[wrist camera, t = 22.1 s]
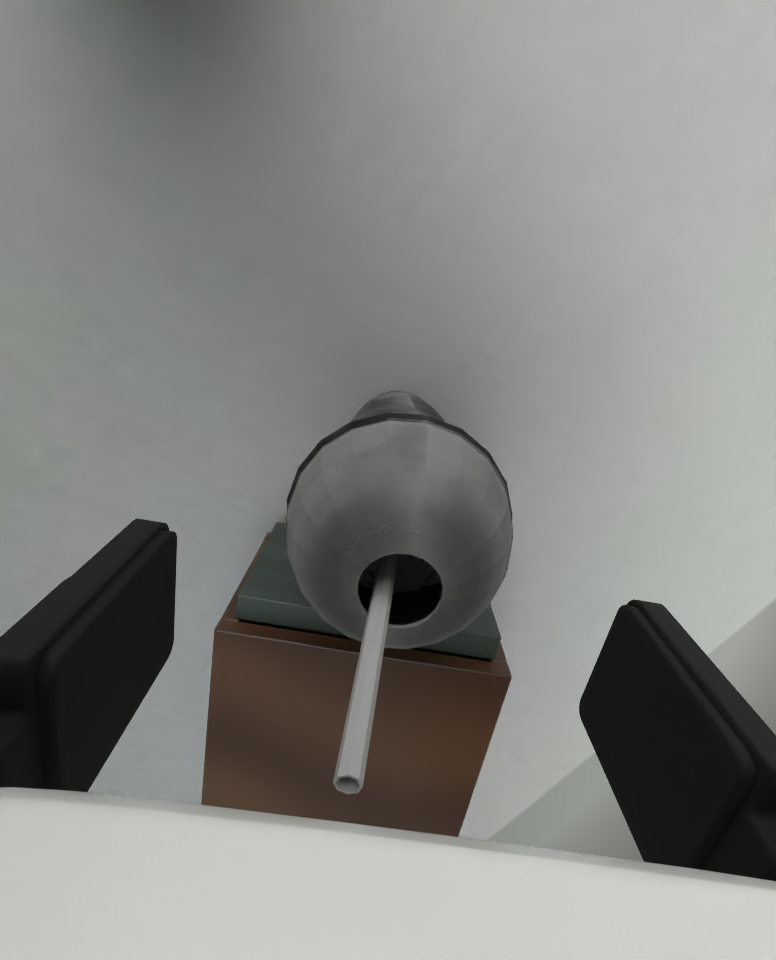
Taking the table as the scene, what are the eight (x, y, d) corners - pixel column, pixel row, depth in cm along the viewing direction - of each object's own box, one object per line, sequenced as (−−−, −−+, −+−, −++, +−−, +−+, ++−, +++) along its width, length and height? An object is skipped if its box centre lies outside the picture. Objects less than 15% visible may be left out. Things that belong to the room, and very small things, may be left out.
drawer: (278, 502, 27) (239, 570, 20) (480, 537, 28) (508, 614, 21) (254, 707, 32) (216, 818, 25) (426, 733, 33) (435, 848, 26)
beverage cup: (491, 439, 27) (722, 771, 8) (390, 519, 28) (381, 947, 10) (404, 333, 25) (436, 439, 6) (301, 426, 27) (78, 730, 8)
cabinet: (267, 532, 29) (213, 630, 20) (478, 567, 29) (512, 677, 21) (246, 722, 34) (196, 865, 25) (427, 749, 34) (438, 897, 26)
